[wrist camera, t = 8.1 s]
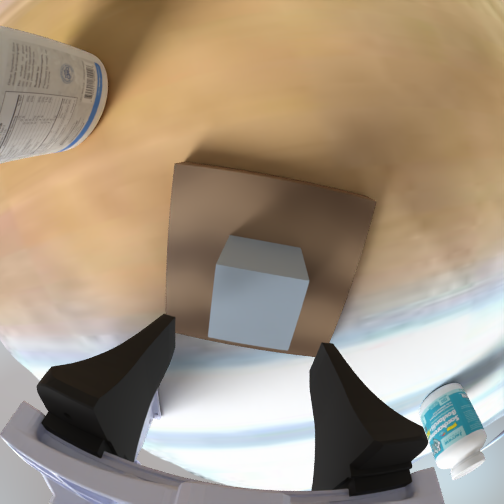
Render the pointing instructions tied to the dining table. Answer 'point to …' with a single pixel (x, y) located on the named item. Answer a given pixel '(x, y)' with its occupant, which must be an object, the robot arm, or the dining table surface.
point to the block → (257, 293)
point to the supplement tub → (46, 95)
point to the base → (265, 229)
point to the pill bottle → (453, 430)
